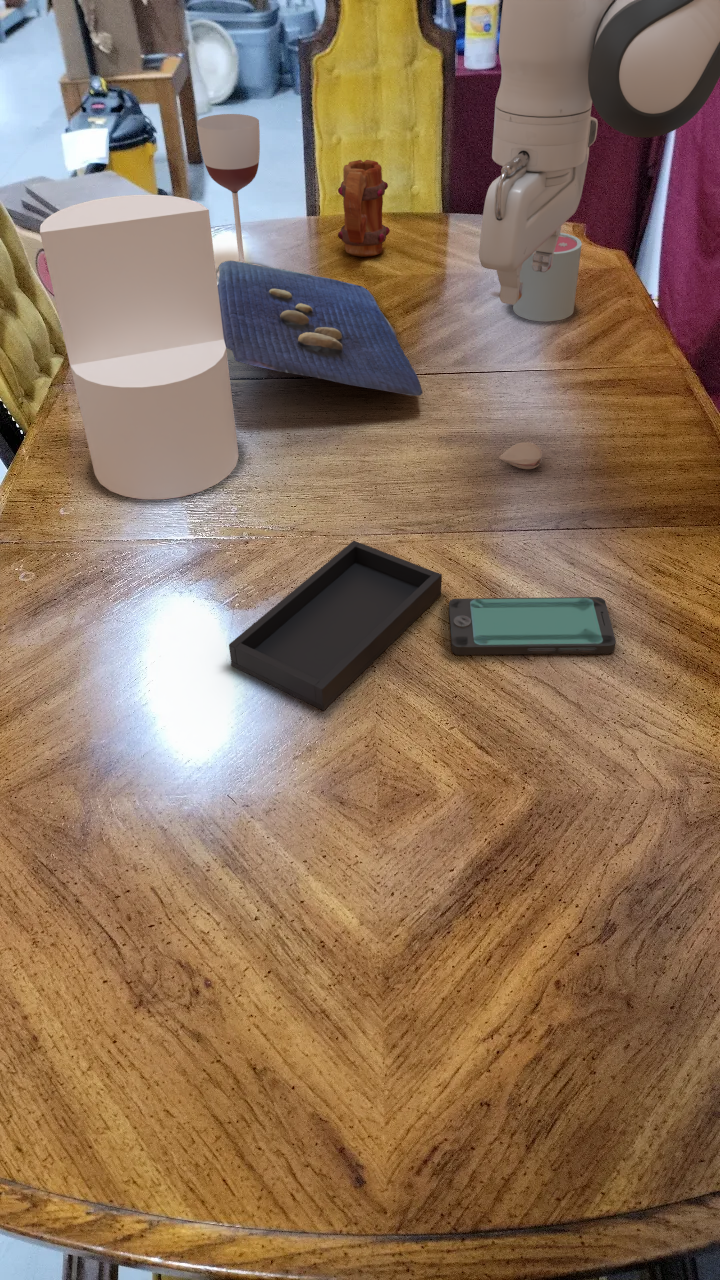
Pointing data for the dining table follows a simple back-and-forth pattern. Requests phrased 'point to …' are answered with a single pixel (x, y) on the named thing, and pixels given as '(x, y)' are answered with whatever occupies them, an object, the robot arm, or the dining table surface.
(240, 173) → the wineglass
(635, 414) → the dining table surface
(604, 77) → the robot arm
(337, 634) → the tray
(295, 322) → the mat
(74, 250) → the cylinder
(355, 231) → the mug
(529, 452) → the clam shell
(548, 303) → the mug
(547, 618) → the smartphone
